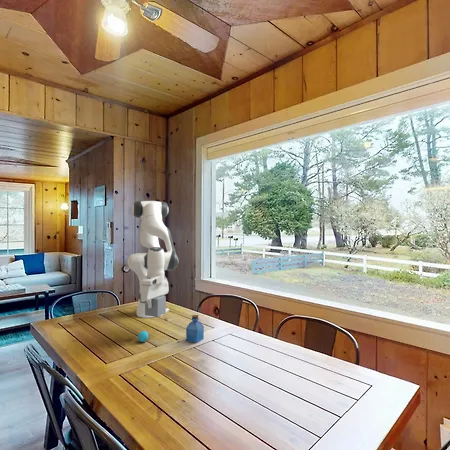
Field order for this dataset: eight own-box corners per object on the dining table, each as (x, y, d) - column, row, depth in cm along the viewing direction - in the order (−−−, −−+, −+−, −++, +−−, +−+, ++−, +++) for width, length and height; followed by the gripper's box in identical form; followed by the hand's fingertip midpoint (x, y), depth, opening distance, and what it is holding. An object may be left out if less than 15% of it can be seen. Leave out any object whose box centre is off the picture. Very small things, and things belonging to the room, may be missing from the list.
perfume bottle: (186, 340, 150) (186, 316, 150) (193, 336, 155) (193, 313, 155) (196, 343, 147) (197, 318, 147) (203, 339, 152) (203, 315, 152)
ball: (142, 339, 151) (142, 328, 151) (150, 340, 149) (150, 330, 149) (135, 342, 146) (135, 332, 146) (144, 344, 144) (144, 333, 144)
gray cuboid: (153, 311, 162) (153, 294, 162) (165, 312, 159) (165, 296, 159) (145, 315, 155) (145, 297, 155) (157, 316, 152) (157, 299, 152)
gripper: (161, 275, 168) (161, 300, 168) (138, 281, 149) (138, 309, 149) (171, 276, 165) (171, 301, 165) (149, 282, 146) (148, 311, 146)
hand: (155, 305), depth 157 cm, fingers closed on gray cuboid, 8 cm apart
